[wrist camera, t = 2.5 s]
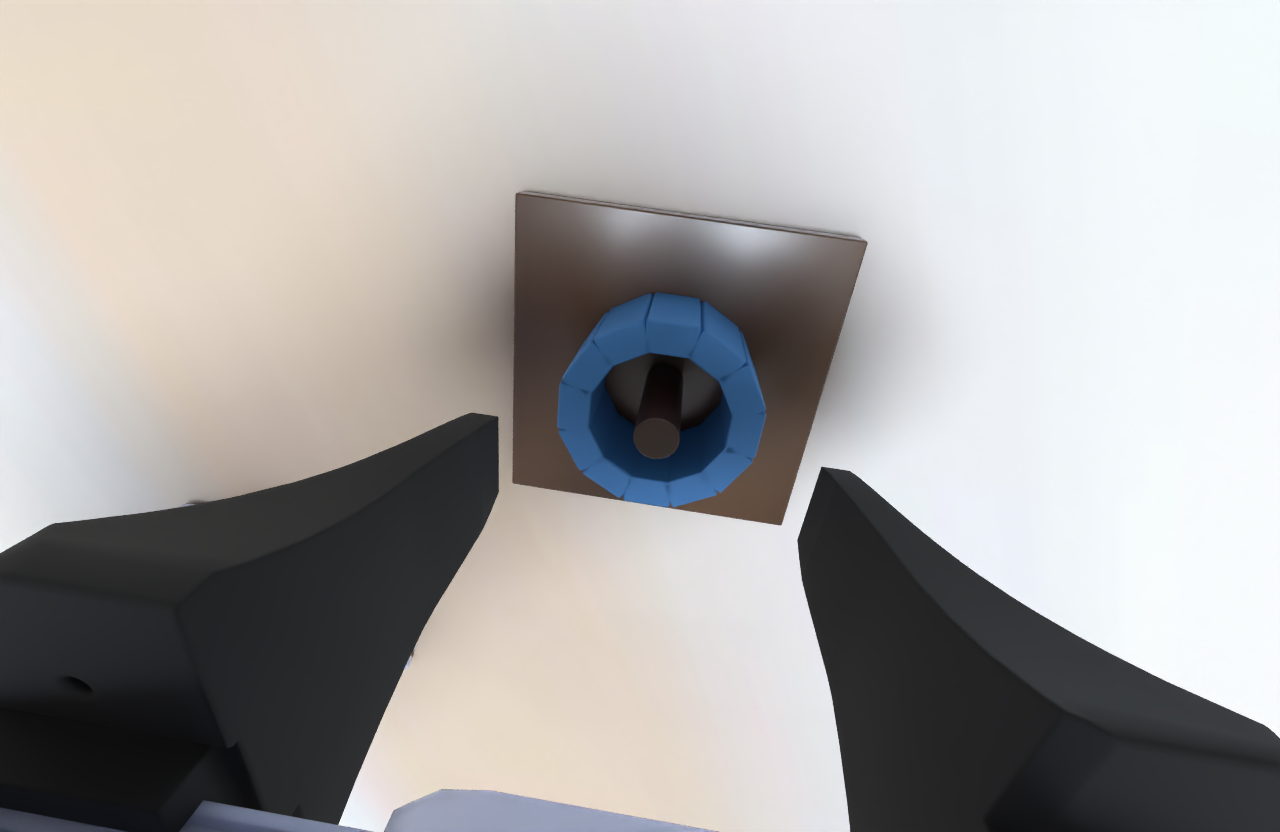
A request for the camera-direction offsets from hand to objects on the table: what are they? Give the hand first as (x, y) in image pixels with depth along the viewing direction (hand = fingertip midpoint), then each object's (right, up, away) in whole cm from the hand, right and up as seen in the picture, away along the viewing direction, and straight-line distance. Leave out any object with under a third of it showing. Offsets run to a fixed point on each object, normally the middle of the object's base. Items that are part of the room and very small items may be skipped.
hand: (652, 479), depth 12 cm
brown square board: (+1, +3, +6) cm, 7 cm away
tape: (+1, +3, +5) cm, 6 cm away
